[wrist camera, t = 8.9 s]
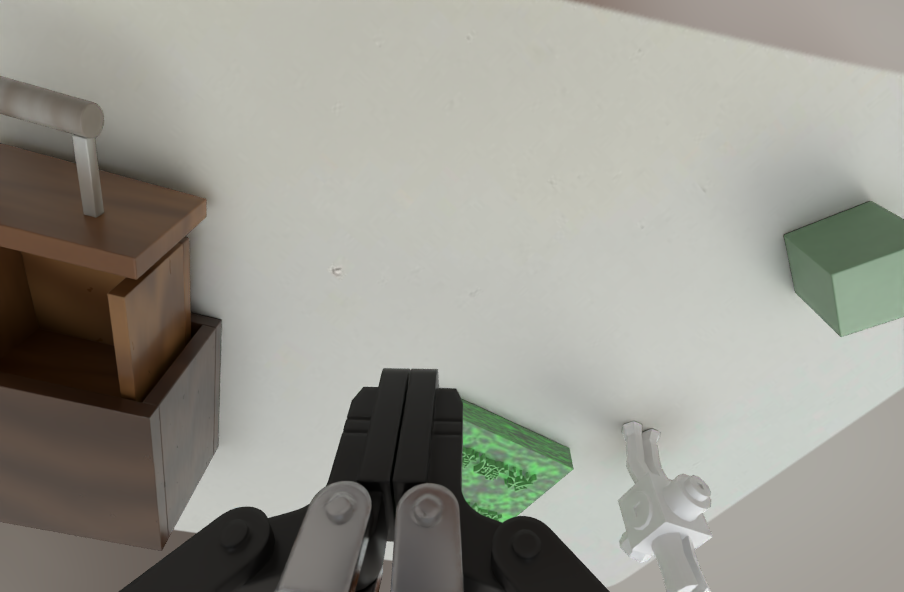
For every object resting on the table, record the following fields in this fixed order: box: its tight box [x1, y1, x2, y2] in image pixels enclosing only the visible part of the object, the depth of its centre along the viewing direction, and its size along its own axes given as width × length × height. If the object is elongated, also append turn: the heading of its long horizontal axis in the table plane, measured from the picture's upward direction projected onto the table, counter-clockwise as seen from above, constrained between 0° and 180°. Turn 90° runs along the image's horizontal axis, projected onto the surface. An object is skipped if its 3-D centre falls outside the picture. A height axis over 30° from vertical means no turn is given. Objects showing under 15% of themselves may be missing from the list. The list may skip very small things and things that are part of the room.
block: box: [784, 201, 904, 337], centre depth 26 cm, size 4×4×4 cm
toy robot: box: [618, 421, 712, 592], centre depth 33 cm, size 4×8×12 cm, turn 156°
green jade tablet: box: [461, 399, 573, 523], centre depth 39 cm, size 11×12×2 cm
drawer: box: [0, 76, 207, 402], centre depth 25 cm, size 18×12×7 cm, turn 164°
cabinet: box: [0, 313, 221, 551], centre depth 32 cm, size 14×13×9 cm
